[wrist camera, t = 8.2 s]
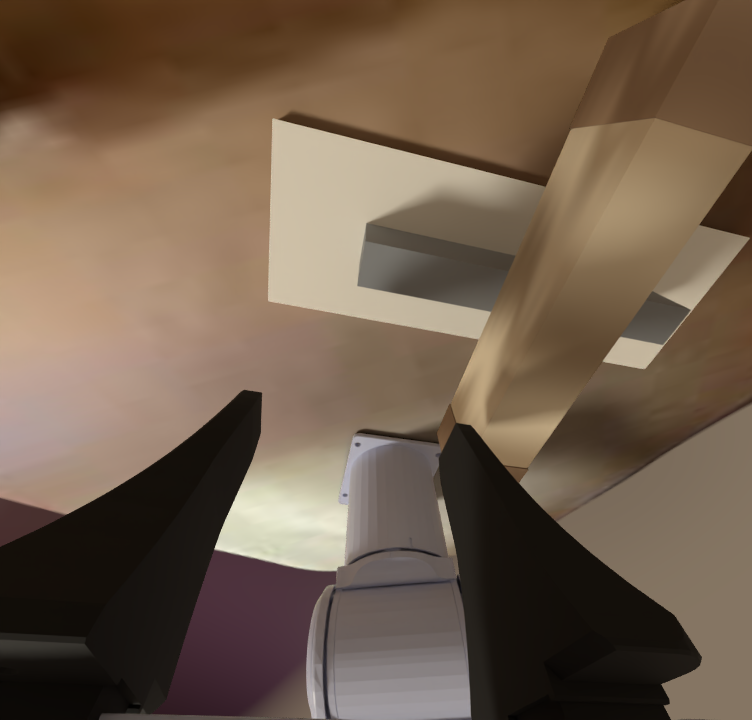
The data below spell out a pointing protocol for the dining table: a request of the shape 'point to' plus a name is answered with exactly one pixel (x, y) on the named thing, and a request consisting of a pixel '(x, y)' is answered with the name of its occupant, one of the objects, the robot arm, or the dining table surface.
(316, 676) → the robot arm
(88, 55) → the dining table surface
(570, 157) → the shiny metallic bar
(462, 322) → the ridge stand
